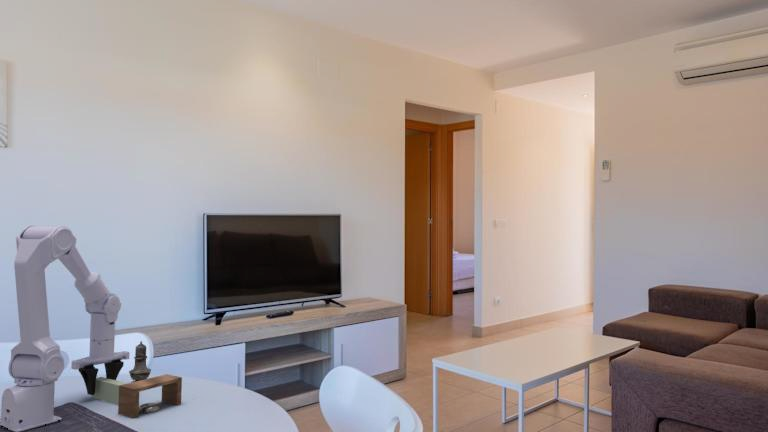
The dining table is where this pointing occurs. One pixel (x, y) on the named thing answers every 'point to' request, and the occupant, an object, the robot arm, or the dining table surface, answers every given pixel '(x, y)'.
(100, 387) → the bar
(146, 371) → the salt shaker
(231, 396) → the dining table surface
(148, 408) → the disc
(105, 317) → the robot arm
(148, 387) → the wooden bridge block
